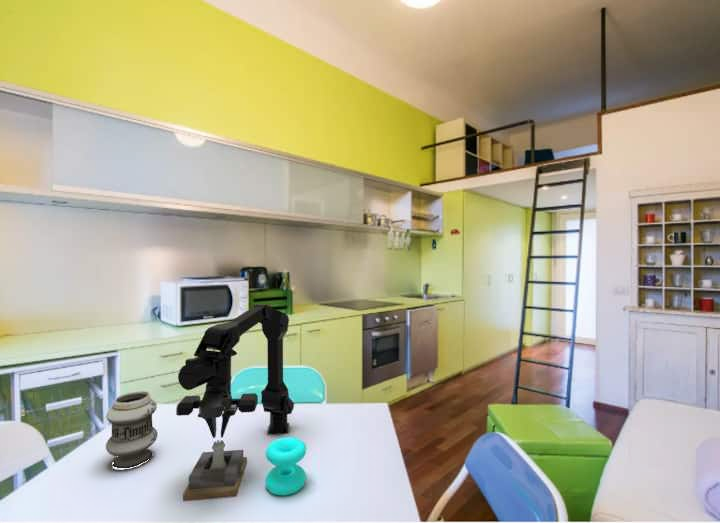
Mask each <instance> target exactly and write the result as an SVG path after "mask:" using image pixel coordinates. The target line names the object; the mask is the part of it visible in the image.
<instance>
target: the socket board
mask: <svg viewBox="0 0 720 523" xmlns="http://www.w3.org/2000/svg"><path fill="white" fill-rule="evenodd" d="M213 452H214V451H203V452H202V453H201V454H200V456H199V458H198V460H197V462H196V463H195V466H193V469H192V470H191V473H190V474H189V475H188V485H187V486H186V488H185V490H184V492H183V493H182V501H183V502H184V501H185V502H186V501H195V500H197V501H199V500H209V499H219V498H234V497H235V498H236V497H237V495H238V492H239V490H240V486H241V482H242V479H243V476H244V473H245V470H246V466H247V464H248V456H244V449H237V450H236V449H235V450H234V449H233V450H224V461H225V463H226V464H227V468H221V469H210V467H211V464H212V462H213Z"/></svg>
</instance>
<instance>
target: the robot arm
mask: <svg viewBox="0 0 720 523" xmlns="http://www.w3.org/2000/svg"><path fill="white" fill-rule="evenodd" d="M289 321H290V319H289V316H288V315H287V313H286V312H283V311H281V310H278V309H276V308H274V307H273V306H271V305H269V304H264V303H263V304H262V303H257V304H254V305H253V306H252V307H251V308H249V309H248V310H246V311H244V312H243V313H241V314H239V315H238V316H236V317H235V318H233V319H232V320H231V321H228V322H224V323H219V324H215V325H213V326H212V325H211V326H210V327H208V328H207V329H206V330H205V331H204V334H203V336H202V338H201V339H200V342H199V344H198V346H197V348H196V350H195V351H194V354H193V356H194V357H191V358H188V359H186V360H185V365H182V366H181V368H180V369H179V372H178V374H177V379H178V383H179V384H180V386H181V387H182V388H183V389H184V390H187V391H191V390H194V389H197V388H198V387H201V386H203V385H205V391H204V393H203V396H202V399H201V396H200V395H185V396H184V397H183V398H182V399H181V400H180V401H179V403H177V405H176V410H175V412H176V414H175V415H176V416H177V417H178V416H190V415H191V414H192V413H193V412H194V410H195V409H196V410H197V409H198V414H197V418H201V419H203V420H205V422H206V424H207V426H208V429H209V431H210V435H211V437H212V438H213V439H215V438H216V436H217V418H220V417H222V419H221V420H222V421H221V427H220V428H221V429H220V438H221V439H222V438H223V437H224V435H225V432H226V430H227V427H228V423H229V421H230V418H231V417H232V416H235V414H237V411H239V412H240V413H253V412H255V411H256V408H257V406H258V403H259V402H258V401H259V396H258V394H257V393H255V392H254V393H253V392H252V393H242V394H241V396H240V398H233V397H232V358H233V357H234V356H236V355H237V354H238V353H237V351H236V350H234V347H235V346H236V345H237V344H239V342H240V338H241V337H242V335H244V334H245V333H246V332H248V331H249V330H251V329H252V328H253V327H255V326H256V325H258V324H260V325H261V331H262V333H263V335H264V337H265V338H266V340H267V346H266V347H267V384H266V386H265V387H264V389H262V390H261V392H260V393H261V394H260V395H261V398H260V399H261V400H260V403H261V405H262V408H263V412H265V413H269V424H268V430H267V435H280V434H281V435H283V434H288V433H289V427H290V423H289V422H288V415H291V414H293V411H294V407H295V403H294V401H293V400H292V399H291V398H290V397H289V396H290V395H289V394H290V393H289V389H288V387H287V385H286V383H285V382H284V337H285V336H286V334H287V333H288V330H289V323H290V322H289Z"/></svg>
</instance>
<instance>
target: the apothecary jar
mask: <svg viewBox="0 0 720 523" xmlns="http://www.w3.org/2000/svg"><path fill="white" fill-rule="evenodd" d="M157 405H158V404H157V402H156V401H155V400H154V399H153V398H152V397H151V393H150V392H149V391H147V390H146V391H145V390H138V391H137V390H136V391H132V392H127V393H124V394H121V395H119V396H117V397H115V399H114V400H113V404H112V406H111V407H110V408H109V409H108V410H107V412H106V415H105V418H106V420H107V422H109V423H111V436H110V437H109V438H108V440H107V442H106V443H105V450H106V452H107V453H108V454H110V455H111V456H114V458H113V460H114V461H113V460H112V461H113V462H114V464H113V466H114V467H117V468H130V467H134V466H137V465H139V464H141V463H143V462H145V461H147V460H148V459H150V457H152V458H153V456H152V453H153V451H152V450H150V449H148V448H150V447H151V446H152V445H153V444H154V443H155V442H156V441H157V439H158V431H157V429H156V428H155V427H154V426H153V414H154V413H155V412H156V410H157V407H158V406H157ZM151 451H152V452H151ZM117 456H118V457H117ZM150 460H151V459H150Z"/></svg>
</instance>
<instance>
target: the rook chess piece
mask: <svg viewBox="0 0 720 523" xmlns="http://www.w3.org/2000/svg"><path fill="white" fill-rule="evenodd" d="M225 447H226V444H225V441H224V440H219V439H218V440H216V441H214V442H213V444H212V446H211V449H212V450H213V451H212V452H213V462H212V464H211V467H210V469H221V468H227V464H226V463H225V461H224V451H225V449H224V448H225Z"/></svg>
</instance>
